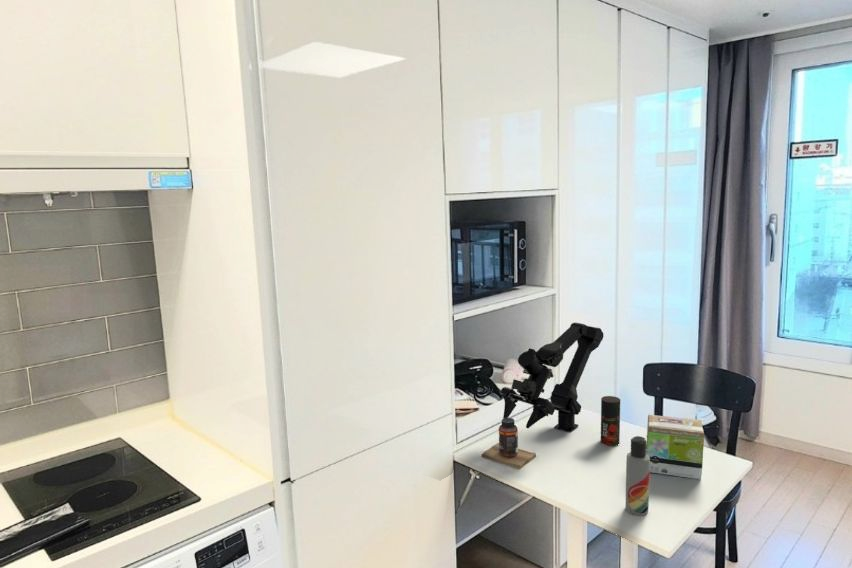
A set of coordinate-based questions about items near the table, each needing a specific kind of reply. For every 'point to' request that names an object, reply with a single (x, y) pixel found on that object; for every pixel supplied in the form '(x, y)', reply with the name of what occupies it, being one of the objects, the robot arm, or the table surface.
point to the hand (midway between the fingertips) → (515, 423)
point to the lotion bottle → (637, 477)
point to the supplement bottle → (508, 438)
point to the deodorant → (610, 420)
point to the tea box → (675, 446)
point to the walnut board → (515, 461)
